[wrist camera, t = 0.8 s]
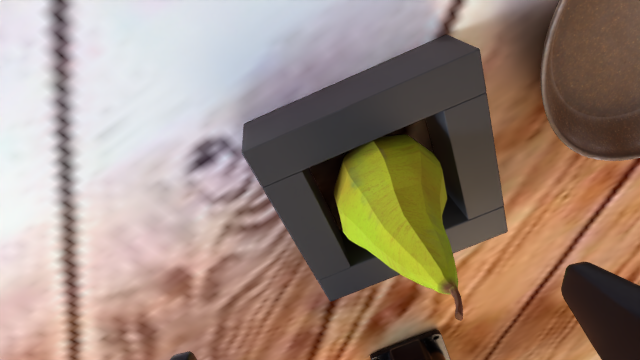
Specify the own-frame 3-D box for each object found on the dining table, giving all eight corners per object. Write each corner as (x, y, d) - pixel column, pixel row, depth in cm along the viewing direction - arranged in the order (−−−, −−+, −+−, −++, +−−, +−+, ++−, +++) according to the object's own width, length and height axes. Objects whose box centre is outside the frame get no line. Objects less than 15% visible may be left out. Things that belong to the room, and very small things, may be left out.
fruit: (382, 221, 26) (465, 398, 16) (305, 185, 23) (343, 366, 13) (444, 147, 23) (589, 297, 13) (364, 98, 21) (467, 237, 11)
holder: (479, 200, 26) (508, 232, 23) (322, 263, 27) (330, 302, 24) (446, 33, 20) (480, 48, 17) (243, 124, 21) (241, 152, 18)
